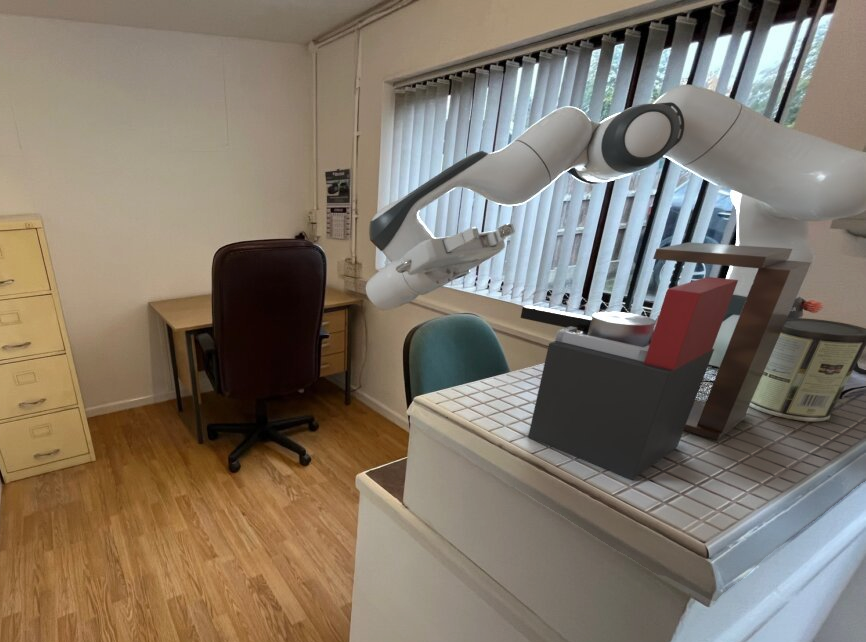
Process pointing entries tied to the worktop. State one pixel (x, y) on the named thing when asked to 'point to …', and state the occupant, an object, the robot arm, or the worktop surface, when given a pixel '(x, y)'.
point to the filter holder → (598, 324)
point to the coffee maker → (630, 383)
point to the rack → (743, 327)
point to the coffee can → (809, 369)
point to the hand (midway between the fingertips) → (494, 229)
